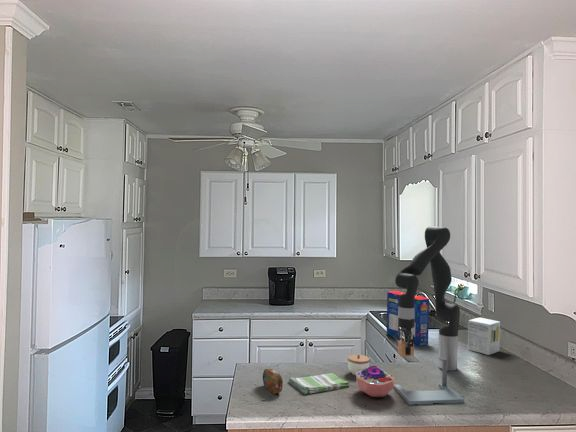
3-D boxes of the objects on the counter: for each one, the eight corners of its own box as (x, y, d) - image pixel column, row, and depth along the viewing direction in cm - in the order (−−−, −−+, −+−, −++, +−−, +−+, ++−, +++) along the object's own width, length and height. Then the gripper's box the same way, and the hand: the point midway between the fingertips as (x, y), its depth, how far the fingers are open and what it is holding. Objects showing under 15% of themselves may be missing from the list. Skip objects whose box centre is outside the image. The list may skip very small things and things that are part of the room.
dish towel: (287, 382, 211) (288, 374, 211) (330, 375, 221) (330, 368, 221) (305, 396, 196) (305, 388, 196) (350, 388, 206) (350, 380, 206)
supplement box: (488, 355, 257) (489, 324, 257) (467, 349, 267) (467, 319, 267) (500, 351, 265) (500, 321, 265) (478, 345, 276) (479, 317, 275)
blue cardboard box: (428, 344, 276) (429, 298, 276) (418, 346, 272) (419, 299, 272) (395, 333, 300) (396, 291, 300) (386, 334, 296) (387, 291, 296)
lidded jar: (359, 379, 216) (359, 359, 216) (342, 372, 224) (343, 353, 224) (373, 374, 223) (374, 355, 223) (357, 368, 231) (357, 350, 231)
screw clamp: (392, 386, 208) (392, 356, 208) (441, 384, 211) (442, 355, 211) (409, 404, 188) (410, 372, 188) (463, 402, 191) (464, 370, 191)
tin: (261, 384, 207) (262, 366, 207) (268, 383, 208) (268, 365, 208) (277, 397, 193) (277, 377, 193) (283, 395, 195) (284, 376, 195)
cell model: (355, 402, 190) (355, 375, 190) (354, 384, 210) (355, 359, 210) (396, 405, 188) (397, 378, 187) (392, 386, 207) (392, 362, 207)
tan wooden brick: (397, 353, 213) (397, 340, 213) (409, 353, 214) (410, 340, 213) (401, 356, 208) (401, 343, 208) (413, 356, 209) (414, 343, 209)
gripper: (393, 313, 217) (392, 348, 218) (404, 320, 203) (403, 358, 203) (408, 312, 218) (407, 347, 218) (420, 320, 204) (419, 357, 204)
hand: (405, 352), depth 211 cm, fingers closed on tan wooden brick, 4 cm apart
